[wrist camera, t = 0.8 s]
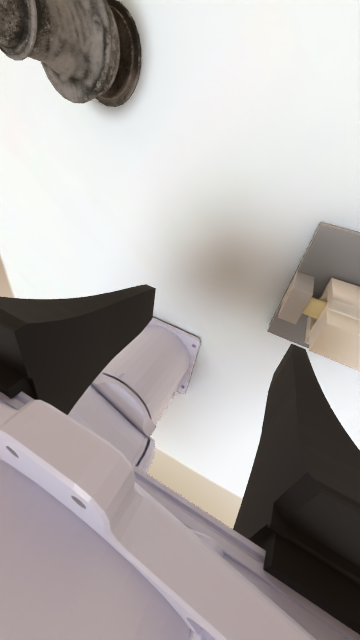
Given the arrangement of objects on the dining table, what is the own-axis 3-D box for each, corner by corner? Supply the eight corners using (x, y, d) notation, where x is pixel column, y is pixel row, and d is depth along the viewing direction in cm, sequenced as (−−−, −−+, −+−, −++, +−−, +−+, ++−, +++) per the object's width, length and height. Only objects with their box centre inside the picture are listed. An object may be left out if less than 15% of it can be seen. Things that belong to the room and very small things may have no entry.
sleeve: (365, 339, 17) (377, 389, 13) (307, 317, 18) (303, 358, 15) (398, 299, 15) (424, 345, 11) (331, 277, 16) (334, 312, 12)
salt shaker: (159, 69, 16) (-46, -50, 7) (107, 130, 20) (-75, 102, 11) (112, -41, 15) (-228, -370, 6) (64, 46, 18) (-193, -69, 9)
